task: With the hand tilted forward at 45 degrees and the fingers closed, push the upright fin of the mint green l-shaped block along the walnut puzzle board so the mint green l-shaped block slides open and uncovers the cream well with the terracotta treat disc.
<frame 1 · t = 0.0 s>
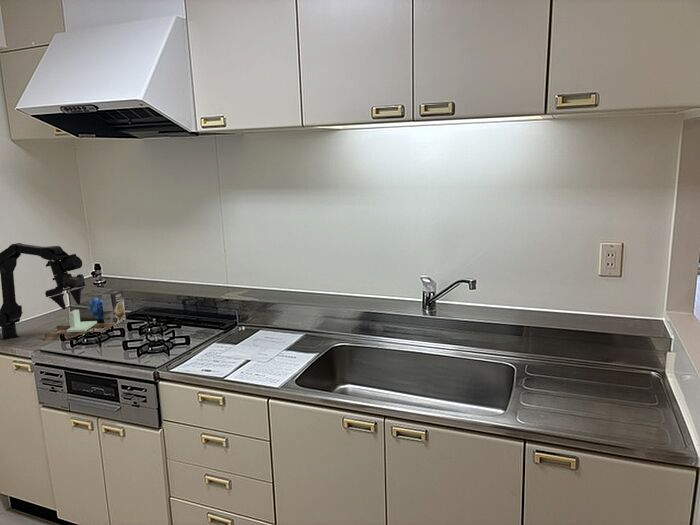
hand: (72, 306, 230), 15 cm above the countertop, tool pointing down, fingers open, 9 cm apart
mint green l-shaped block: (81, 319, 241), point 7 cm above the countertop, slide at 0.0 cm
coffee box: (115, 323, 259), on the countertop
grapes: (99, 320, 264), on the countertop
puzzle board: (76, 334, 241), on the countertop
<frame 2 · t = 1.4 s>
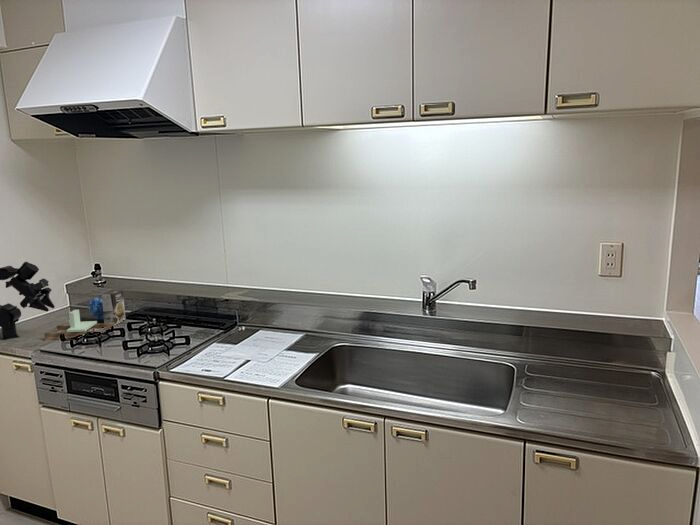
hand: (51, 309, 239), 13 cm above the countertop, tool tilted 45°, fingers open, 5 cm apart
nothing on the countertop moved.
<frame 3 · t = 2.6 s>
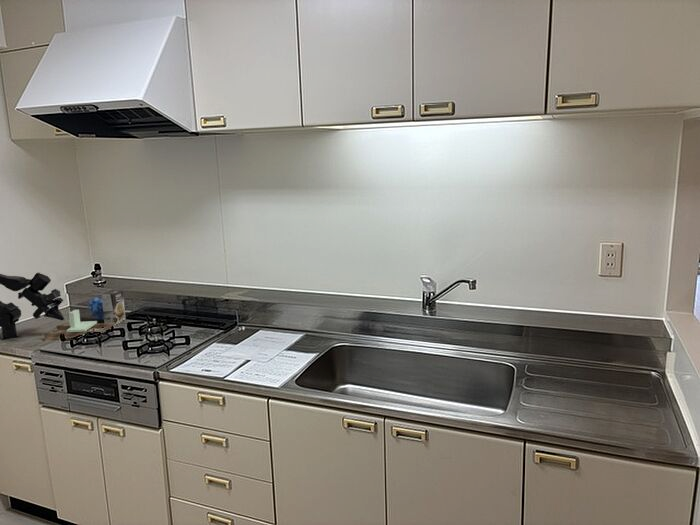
hand: (63, 319, 240), 7 cm above the countertop, tool tilted 45°, fingers closed
nothing on the countertop moved.
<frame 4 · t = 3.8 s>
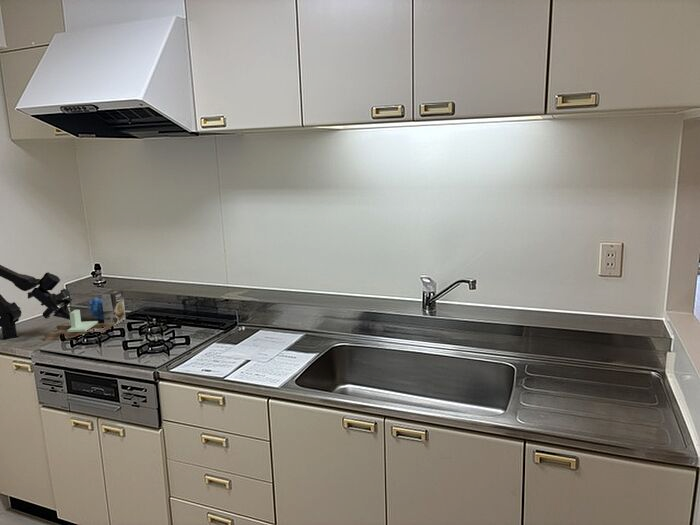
hand: (72, 319, 240), 7 cm above the countertop, tool tilted 45°, fingers closed, pressing on mint green l-shaped block
mint green l-shaped block: (82, 319, 241), point 7 cm above the countertop, slide at 0.3 cm, touching gripper
everything else where it was.
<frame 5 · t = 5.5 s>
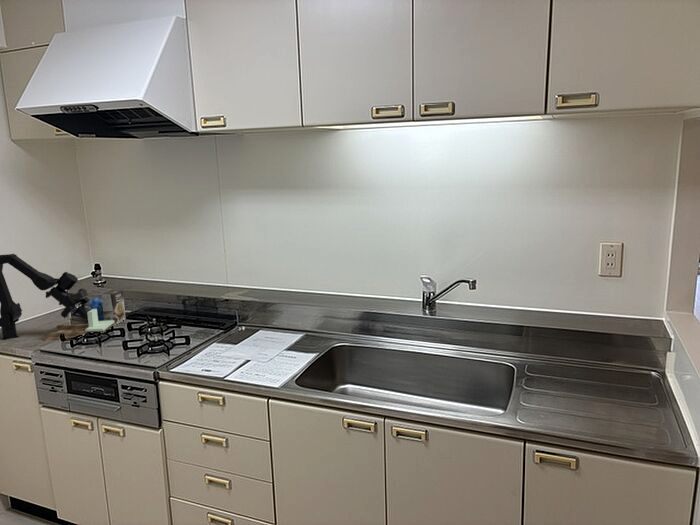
hand: (90, 318, 241), 7 cm above the countertop, tool tilted 45°, fingers closed, pressing on mint green l-shaped block
mint green l-shaped block: (99, 318, 241), point 7 cm above the countertop, slide at 8.2 cm, touching gripper
everything else where it was.
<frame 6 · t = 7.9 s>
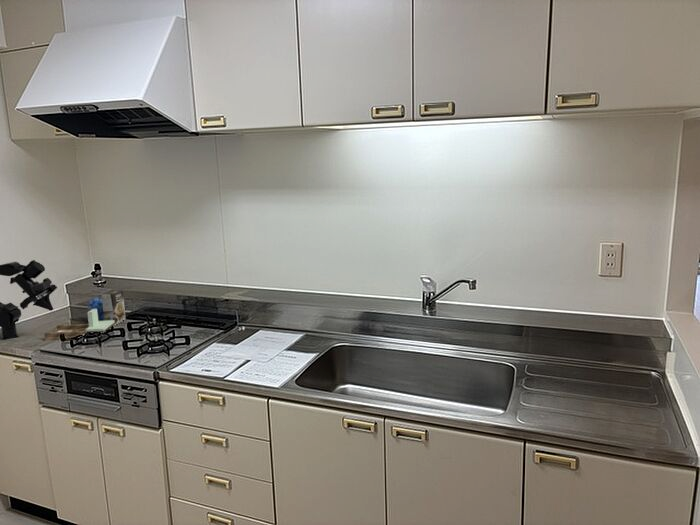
hand: (52, 309, 238), 12 cm above the countertop, tool tilted 40°, fingers closed
mint green l-shaped block: (99, 318, 241), point 7 cm above the countertop, slide at 8.3 cm
everything else where it was.
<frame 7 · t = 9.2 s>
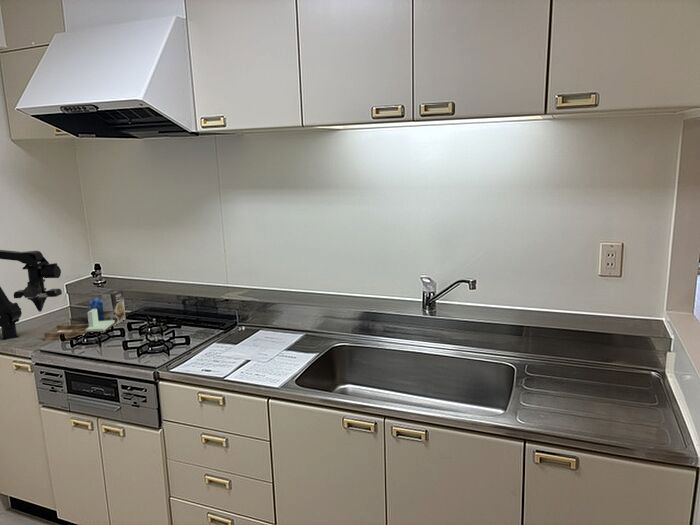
hand: (40, 311, 237), 12 cm above the countertop, tool pointing down, fingers closed
nothing on the countertop moved.
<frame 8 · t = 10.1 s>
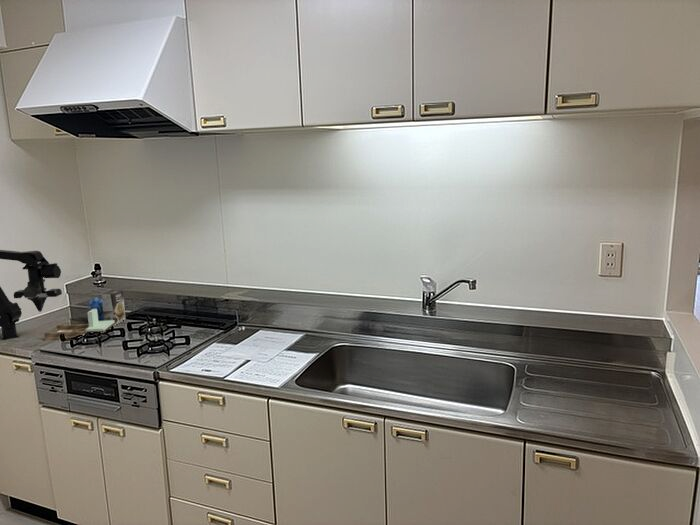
hand: (40, 311, 237), 12 cm above the countertop, tool pointing down, fingers closed
nothing on the countertop moved.
at the end: mint green l-shaped block slide at 8.3 cm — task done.
